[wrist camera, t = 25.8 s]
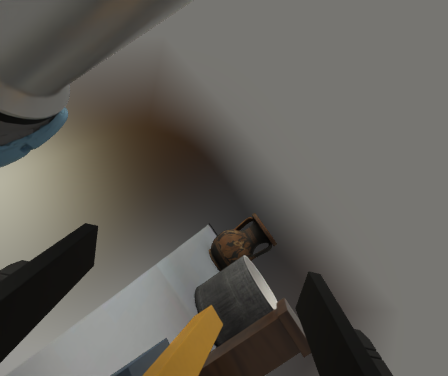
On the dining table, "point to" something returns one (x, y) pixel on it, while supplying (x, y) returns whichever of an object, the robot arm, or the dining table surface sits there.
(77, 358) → the dining table surface
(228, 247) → the vase
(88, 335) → the dining table surface
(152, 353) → the tall block
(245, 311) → the planter
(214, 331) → the yellow bar
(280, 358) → the stand
